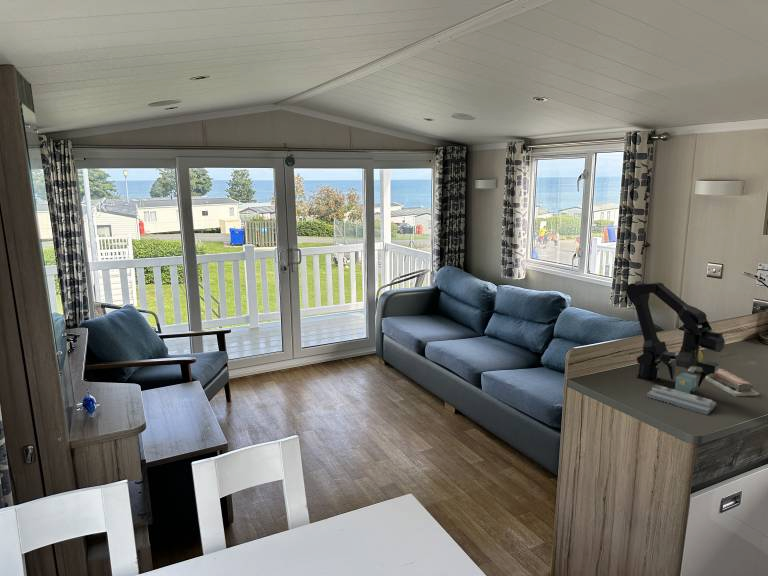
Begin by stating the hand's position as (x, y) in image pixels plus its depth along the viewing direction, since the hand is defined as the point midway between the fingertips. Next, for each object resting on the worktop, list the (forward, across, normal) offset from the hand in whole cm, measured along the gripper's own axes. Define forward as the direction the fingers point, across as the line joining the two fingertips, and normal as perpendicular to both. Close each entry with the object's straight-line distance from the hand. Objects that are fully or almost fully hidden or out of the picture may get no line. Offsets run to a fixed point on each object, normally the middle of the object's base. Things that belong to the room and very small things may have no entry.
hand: (685, 383), depth 203 cm
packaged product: (+4, +10, +18) cm, 22 cm away
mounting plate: (+3, +2, -11) cm, 12 cm away
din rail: (+2, +2, -11) cm, 11 cm away
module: (+3, 0, 0) cm, 3 cm away
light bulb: (+4, -5, +25) cm, 26 cm away
